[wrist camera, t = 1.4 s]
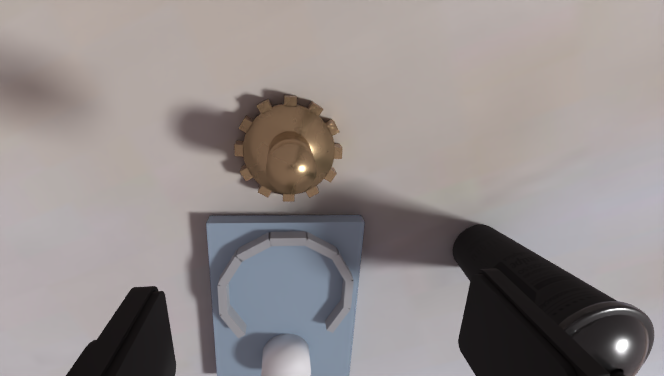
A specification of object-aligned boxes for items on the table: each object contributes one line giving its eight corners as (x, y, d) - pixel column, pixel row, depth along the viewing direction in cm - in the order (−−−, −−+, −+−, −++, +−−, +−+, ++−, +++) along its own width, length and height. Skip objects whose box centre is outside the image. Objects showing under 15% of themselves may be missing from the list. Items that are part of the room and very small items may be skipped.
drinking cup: (440, 286, 34) (632, 550, 15) (437, 220, 31) (666, 442, 13) (510, 271, 35) (776, 505, 16) (513, 204, 32) (837, 394, 13)
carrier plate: (210, 215, 28) (199, 238, 24) (360, 214, 30) (372, 235, 26) (220, 373, 34) (212, 411, 30) (346, 364, 36) (354, 398, 32)
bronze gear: (235, 92, 25) (220, 100, 19) (342, 98, 26) (360, 106, 20) (238, 194, 28) (226, 229, 22) (335, 195, 29) (350, 228, 23)
